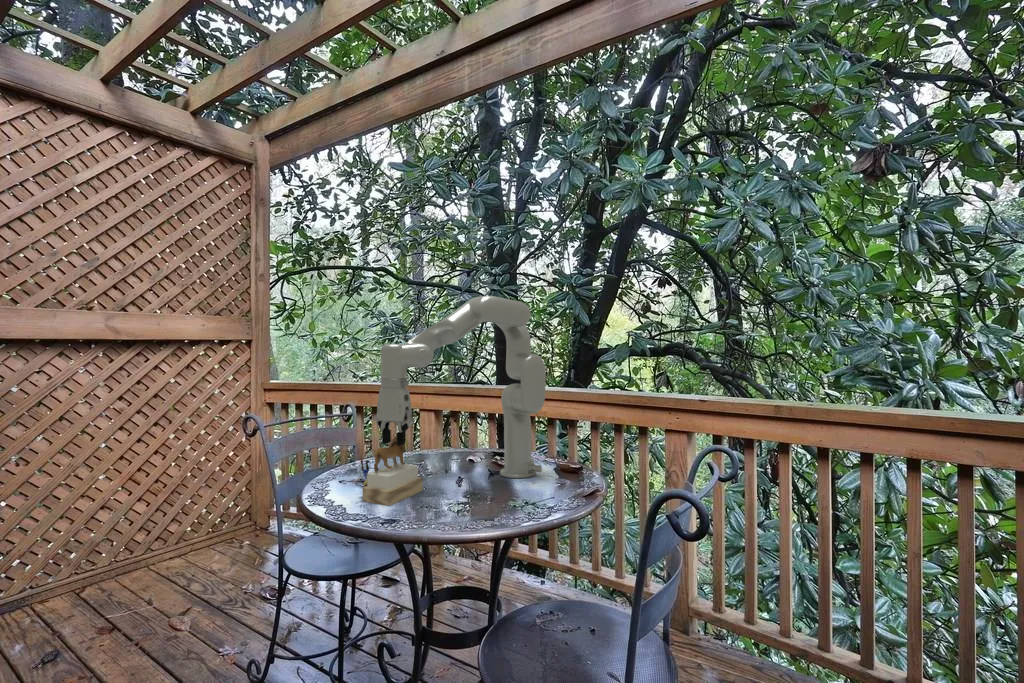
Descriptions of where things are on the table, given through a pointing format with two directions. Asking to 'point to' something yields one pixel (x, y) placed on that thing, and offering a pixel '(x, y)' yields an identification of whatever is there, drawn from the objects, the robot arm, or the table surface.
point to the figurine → (364, 471)
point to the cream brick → (392, 476)
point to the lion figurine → (389, 454)
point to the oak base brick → (392, 493)
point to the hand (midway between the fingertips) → (393, 443)
